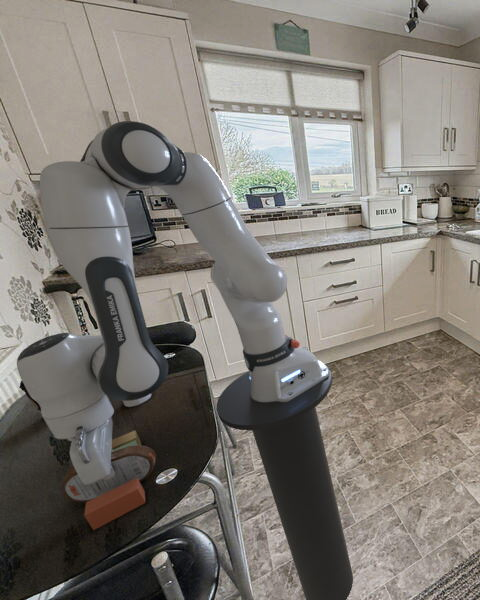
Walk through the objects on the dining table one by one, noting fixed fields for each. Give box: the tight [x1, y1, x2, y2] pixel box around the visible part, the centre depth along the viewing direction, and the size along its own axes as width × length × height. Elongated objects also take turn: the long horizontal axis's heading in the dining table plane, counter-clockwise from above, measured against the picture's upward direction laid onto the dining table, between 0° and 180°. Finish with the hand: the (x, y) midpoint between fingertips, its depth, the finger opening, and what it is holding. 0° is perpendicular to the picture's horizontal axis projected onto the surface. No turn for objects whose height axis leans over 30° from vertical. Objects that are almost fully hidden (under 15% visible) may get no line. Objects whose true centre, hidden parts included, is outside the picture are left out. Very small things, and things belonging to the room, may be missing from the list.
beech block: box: [112, 430, 142, 450], centre depth 77 cm, size 8×4×4 cm, turn 129°
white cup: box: [122, 393, 152, 408], centre depth 97 cm, size 8×8×10 cm
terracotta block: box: [83, 478, 146, 531], centre depth 64 cm, size 8×4×4 cm, turn 129°
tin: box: [61, 444, 157, 503], centre depth 68 cm, size 15×3×8 cm, turn 119°
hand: (110, 469), depth 68 cm, fingers closed on tin, 3 cm apart
